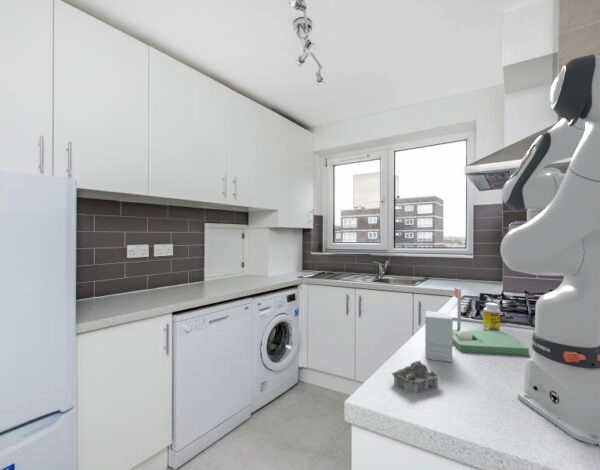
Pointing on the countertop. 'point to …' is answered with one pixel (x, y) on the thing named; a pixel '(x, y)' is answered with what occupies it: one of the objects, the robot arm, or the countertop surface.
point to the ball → (464, 334)
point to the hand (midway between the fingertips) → (543, 266)
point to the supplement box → (438, 336)
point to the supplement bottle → (491, 317)
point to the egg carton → (410, 381)
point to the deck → (486, 339)
